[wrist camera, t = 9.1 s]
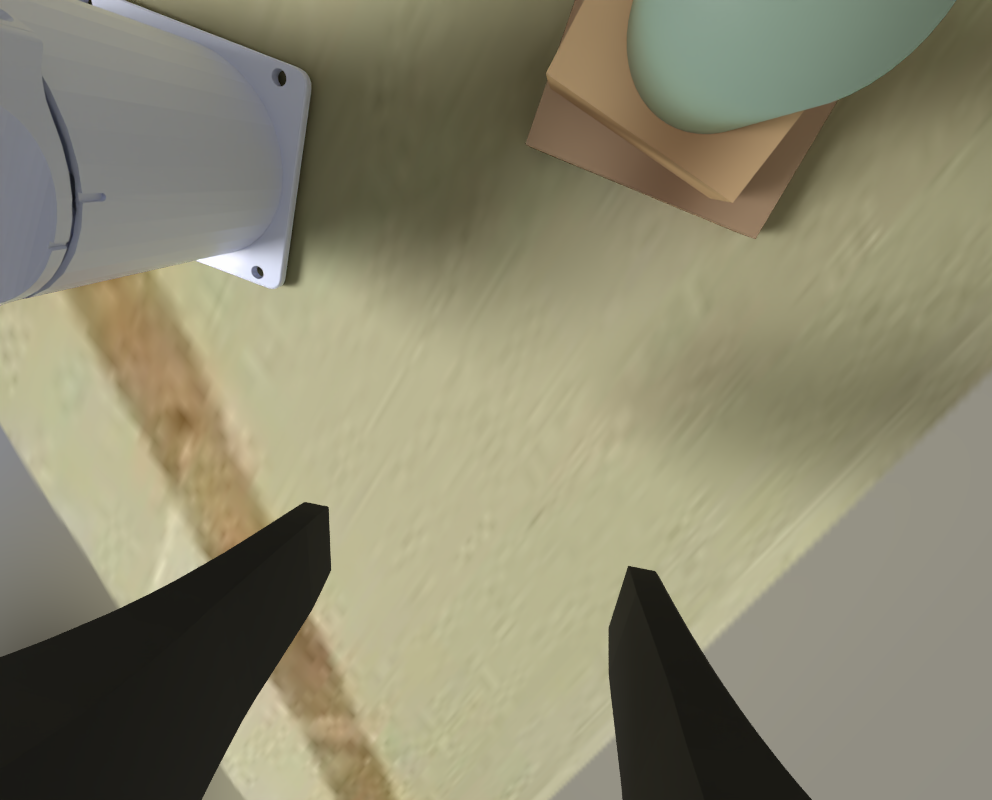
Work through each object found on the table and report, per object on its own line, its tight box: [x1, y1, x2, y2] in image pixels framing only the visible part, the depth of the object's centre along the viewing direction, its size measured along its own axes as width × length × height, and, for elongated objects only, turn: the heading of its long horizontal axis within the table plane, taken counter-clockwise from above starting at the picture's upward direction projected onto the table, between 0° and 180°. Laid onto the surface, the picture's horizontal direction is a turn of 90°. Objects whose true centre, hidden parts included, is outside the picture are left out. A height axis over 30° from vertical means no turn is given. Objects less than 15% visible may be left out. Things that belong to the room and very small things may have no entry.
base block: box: [525, 0, 838, 239], centre depth 15 cm, size 8×8×2 cm
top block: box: [546, 0, 804, 203], centre depth 13 cm, size 6×6×2 cm
